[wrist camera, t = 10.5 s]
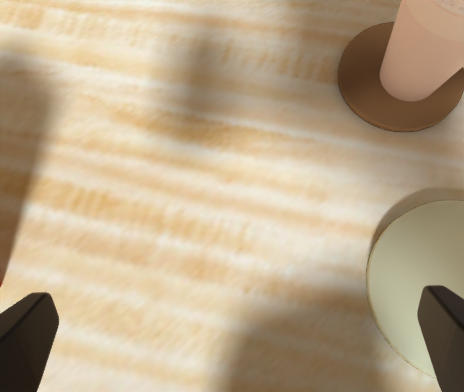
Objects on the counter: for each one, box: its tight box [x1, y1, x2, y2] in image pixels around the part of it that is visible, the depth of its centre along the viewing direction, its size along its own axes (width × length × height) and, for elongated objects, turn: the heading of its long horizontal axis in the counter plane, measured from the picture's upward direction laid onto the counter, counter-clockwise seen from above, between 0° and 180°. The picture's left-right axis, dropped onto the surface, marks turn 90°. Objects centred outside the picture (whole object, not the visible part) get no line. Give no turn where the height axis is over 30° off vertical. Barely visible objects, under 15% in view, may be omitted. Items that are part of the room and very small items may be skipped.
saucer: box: [366, 200, 464, 379], centre depth 21 cm, size 10×10×1 cm
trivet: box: [338, 22, 464, 132], centre depth 26 cm, size 8×8×1 cm
